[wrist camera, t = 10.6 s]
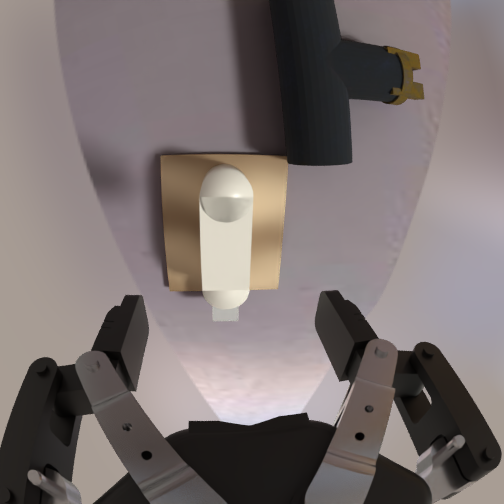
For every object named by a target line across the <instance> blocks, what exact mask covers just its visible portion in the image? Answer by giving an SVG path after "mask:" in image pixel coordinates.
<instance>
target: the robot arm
mask: <svg viewBox="0 0 504 504" xmlns="http://www.w3.org/2000/svg"><path fill="white" fill-rule="evenodd" d="M148 326H149V325H148V319H147V315H146V310H145V305H144V300H143V297H142V295H126V296H125V297H124V299H123V301H122V303H121V306H114V307H113V308H112V309H111V310H110V311H109V312H108V313H107V315H106V317H105V320H104V322H103V324H102V326H101V329H100V331H99V333H98V335H97V338H96V340H95V342H94V345H93V347H92V349H91V351H89V352H86V353H84V354H82V355H81V356H80V357H79V358H78V359H77V361H76V364H72V365H66V366H57V364H56V362H55V361H54V360H53V359H51V358H48V357H43V358H39V359H37V360H36V361H34V362H33V363H32V364H31V366H30V367H29V369H28V372H27V374H26V376H25V379H24V381H23V383H22V386H21V388H20V391H19V393H18V396H17V398H16V401H15V404H14V407H13V409H12V412H11V415H10V418H9V421H8V424H7V427H6V430H5V433H4V437H3V440H2V444H1V447H0V504H82V503H81V496H80V492H79V490H78V489H77V488H76V486H75V485H74V484H73V483H72V474H73V466H74V458H75V453H76V446H77V440H78V435H79V429H80V424H81V420H82V415H87V414H95V416H96V418H97V420H98V422H99V424H100V426H101V428H102V430H103V431H104V433H105V435H106V437H107V439H108V440H109V442H110V444H111V445H112V447H113V449H114V450H115V452H116V454H117V455H118V457H119V458H120V460H121V462H122V463H123V465H124V466H125V468H126V469H127V471H128V473H127V474H126V475H125V476H124V477H122V478H121V479H120V480H119V481H118V482H117V483H116V484H115V485H114V486H113V487H111V488H110V489H109V490H108V491H107V492H106V493H105V494H104V495H103V496H101V497H100V498H99V499H98V500H97V501H95V502H94V503H93V504H433V503H435V502H437V501H439V500H440V499H448V498H450V497H452V496H454V495H456V494H457V493H459V492H461V491H462V490H464V489H466V488H467V487H469V486H470V485H472V484H473V483H475V482H476V481H478V480H479V479H481V478H482V477H484V476H485V475H487V474H488V473H489V472H491V471H492V470H493V469H495V468H496V467H497V466H498V464H499V463H500V460H501V449H500V446H499V444H498V442H497V440H496V439H495V437H494V435H493V433H492V431H491V429H490V428H489V426H488V424H487V422H486V421H485V419H484V417H483V415H482V414H481V412H480V410H479V409H478V407H477V405H476V404H475V403H474V401H473V399H472V397H471V396H470V394H469V393H468V391H467V389H466V388H465V386H464V385H463V383H462V382H461V380H460V379H459V377H458V376H457V374H456V373H455V371H454V370H453V368H452V367H451V365H450V364H449V363H448V361H447V360H446V358H445V357H444V356H443V354H442V353H441V351H440V350H439V349H438V348H437V347H436V346H435V345H433V344H431V343H428V342H420V343H418V344H417V345H416V346H415V348H414V350H413V351H398V350H397V349H396V347H395V346H394V345H393V344H392V343H391V342H389V341H387V340H383V339H379V338H378V337H377V335H376V334H375V332H374V331H373V329H372V328H371V326H370V325H369V323H368V322H367V320H365V317H364V316H363V315H362V314H361V312H360V310H359V309H358V307H357V306H356V305H355V304H353V303H352V302H350V301H349V300H344V298H343V297H342V295H341V294H340V292H339V291H338V290H333V291H322V292H321V293H320V297H319V302H318V307H317V312H316V316H315V327H316V331H317V333H318V335H319V337H320V340H321V342H322V344H323V346H324V348H325V351H326V353H327V355H328V357H329V359H330V362H331V364H332V366H333V368H334V370H335V373H336V375H337V377H338V379H339V382H340V381H345V380H349V382H350V385H349V388H348V390H347V393H346V395H345V398H344V400H343V403H342V405H341V408H340V410H339V412H338V414H337V417H336V419H335V421H334V423H333V425H330V424H327V423H323V422H319V421H314V420H309V418H308V415H307V413H301V414H294V415H287V416H279V417H276V418H273V419H270V420H267V421H264V422H261V423H258V424H254V425H249V426H248V425H240V424H234V423H228V422H222V421H189V429H185V430H181V431H178V432H176V433H173V434H171V435H169V436H168V437H166V438H164V437H163V436H162V434H161V433H160V432H159V431H158V429H157V428H156V427H155V425H154V424H153V423H152V421H151V420H150V419H149V417H148V416H147V415H146V413H145V412H144V410H143V409H142V408H141V406H140V405H139V403H138V402H137V400H136V399H135V397H134V396H133V394H132V393H131V392H130V391H136V389H137V384H138V379H139V375H140V370H141V365H142V360H143V356H144V352H145V347H146V343H147V339H148V334H149V327H148ZM424 386H425V388H426V390H427V392H428V393H429V395H430V397H431V401H432V404H430V402H429V401H428V399H427V397H426V395H425V393H424V392H423V390H422V389H423V388H424ZM393 399H394V401H395V404H396V406H397V408H398V410H399V412H400V414H401V416H402V419H403V421H404V423H405V425H406V427H407V430H408V432H409V434H410V437H411V439H412V441H413V443H414V446H415V448H416V450H417V453H418V455H419V458H418V460H417V469H416V472H415V473H414V472H412V471H410V470H408V469H406V468H404V467H402V466H401V465H399V464H397V463H395V462H393V461H391V460H390V459H388V458H386V457H384V456H382V455H381V454H379V451H380V448H381V445H382V441H383V437H384V435H385V431H386V427H387V423H388V420H389V416H390V412H391V408H392V403H393Z"/></svg>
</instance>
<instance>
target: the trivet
mask: <svg viewBox="0 0 504 504" xmlns="http://www.w3.org/2000/svg"><path fill="white" fill-rule="evenodd" d="M220 164H230V165H233V166H235V167H237V168H239V169H240V170H241V171H242V172H243V174H244V175H245V177H246V178H247V180H248V181H249V183H250V184H251V187H252V190H253V217H252V240H251V263H250V286H249V290H263V289H278V282H279V272H280V261H281V250H282V239H283V227H284V214H285V201H286V187H287V173H288V163H287V156H277V155H252V154H186V155H162V156H161V190H162V210H163V226H164V239H165V251H166V262H167V271H168V280H169V289H170V291H202V271H201V246H200V201H199V197H200V190H201V186H202V183H203V179H204V177H205V175H206V173H207V172H208V171H209V170H210V169H211V168H213V167H215V166H217V165H220Z"/></svg>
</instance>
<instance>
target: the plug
mask: <svg viewBox="0 0 504 504" xmlns="http://www.w3.org/2000/svg"><path fill="white" fill-rule="evenodd" d="M199 201H200V246H201V271H202V291H203V296H204V298H205V300H206V301H207V302H208V303H209V304H210V305H212V313H213V321H238V306H239V305H241V304H242V303H243V302H244V301H245V300H246V299H247V297H248V294H249V286H250V263H251V240H252V217H253V190H252V187H251V184H250V183H249V181H248V180H247V178H246V177H245V175H244V174H243V172H242V171H241V170H240V169H239V168H237V167H235V166H233V165H230V164H220V165H217V166H215V167H213V168H211V169H210V170H209V171H208V172H207V173H206V175H205V177H204V179H203V183H202V186H201V190H200V197H199Z"/></svg>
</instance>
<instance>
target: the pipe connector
mask: <svg viewBox="0 0 504 504" xmlns="http://www.w3.org/2000/svg"><path fill="white" fill-rule="evenodd" d="M269 2H270V9H271V16H272V23H273V30H274V37H275V45H276V53H277V61H278V69H279V78H280V87H281V97H282V107H283V118H284V129H285V140H286V153H287V163H289V164H293V165H308V166H327V165H343V164H349V163H352V140H351V122H350V109H349V99H360V100H372V101H382V102H383V103H385V104H393V105H400V104H402V103H404V102H405V101H406V100H407V98H408V99H414V100H418V99H424V92H423V84H421V83H416V82H413V70H418V69H421V67H420V60H419V55H418V54H415V53H411V52H407V51H403V50H400V49H398V48H394V47H390V46H377V45H371V44H366V43H360V42H353V41H346V40H341V35H340V30H339V24H338V19H337V14H336V9H335V4H334V0H269Z"/></svg>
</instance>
